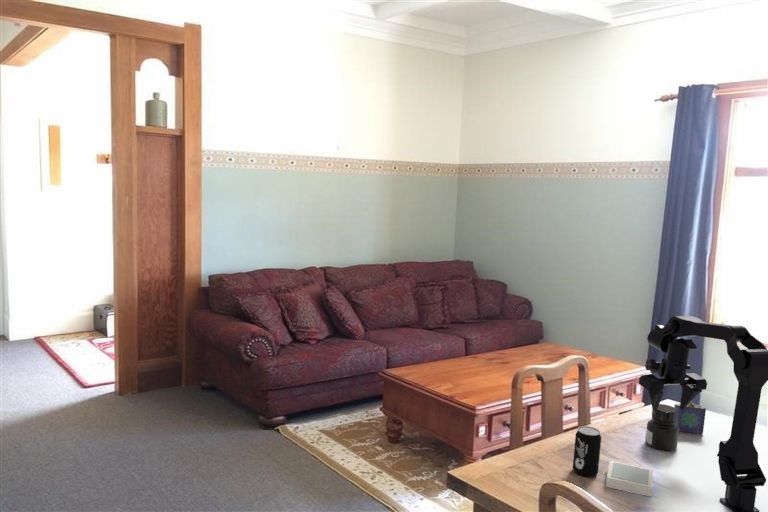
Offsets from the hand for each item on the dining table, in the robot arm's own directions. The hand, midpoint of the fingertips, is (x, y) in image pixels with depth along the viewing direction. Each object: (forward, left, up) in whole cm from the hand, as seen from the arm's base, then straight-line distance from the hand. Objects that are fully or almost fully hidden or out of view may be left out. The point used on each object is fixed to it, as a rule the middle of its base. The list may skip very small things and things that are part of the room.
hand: (668, 409), depth 183 cm
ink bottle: (+7, -3, -14) cm, 16 cm away
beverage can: (-9, +28, -14) cm, 33 cm away
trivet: (-15, +19, -14) cm, 28 cm away
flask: (+17, -18, -14) cm, 29 cm away
